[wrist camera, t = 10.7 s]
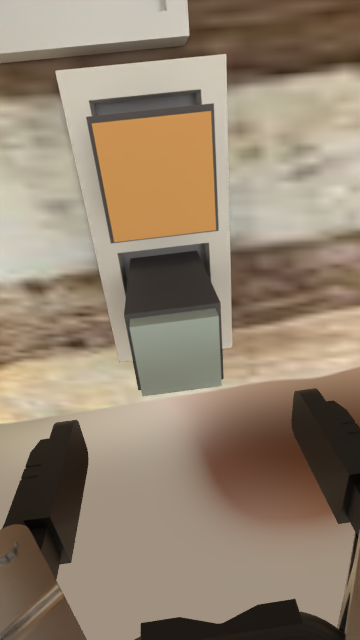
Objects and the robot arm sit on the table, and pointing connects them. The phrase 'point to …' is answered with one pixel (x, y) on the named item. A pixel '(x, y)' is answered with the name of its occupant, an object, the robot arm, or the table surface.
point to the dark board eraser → (173, 324)
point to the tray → (88, 27)
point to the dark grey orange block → (157, 171)
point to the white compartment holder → (78, 103)
